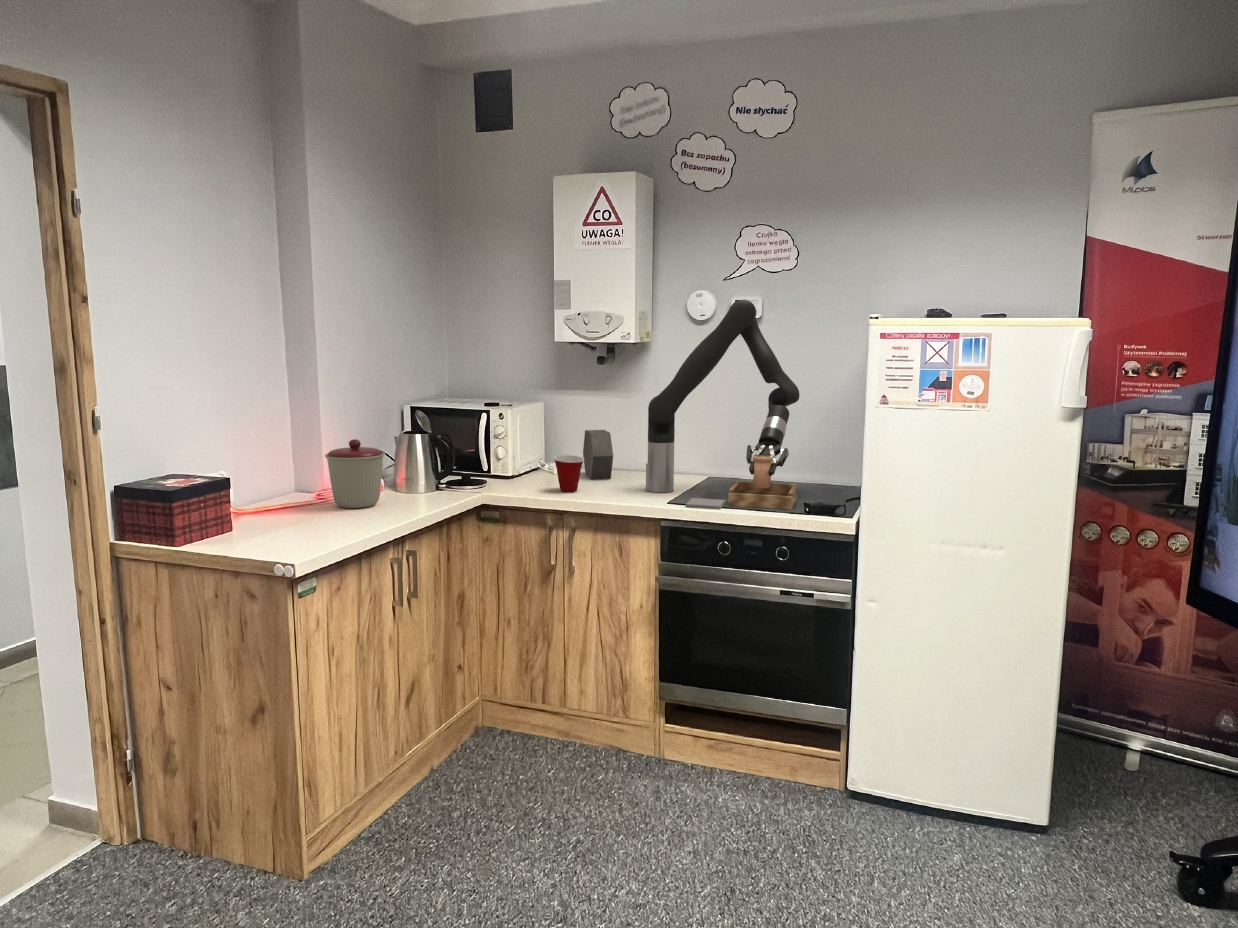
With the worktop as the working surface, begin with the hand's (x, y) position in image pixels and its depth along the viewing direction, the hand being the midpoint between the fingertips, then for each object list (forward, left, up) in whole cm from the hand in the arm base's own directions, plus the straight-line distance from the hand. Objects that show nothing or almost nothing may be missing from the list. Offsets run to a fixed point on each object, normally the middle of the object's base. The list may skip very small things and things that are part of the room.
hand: (760, 473), depth 280 cm
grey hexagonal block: (-66, +37, -10) cm, 77 cm away
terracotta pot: (0, +2, -5) cm, 5 cm away
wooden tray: (+1, +3, -10) cm, 10 cm away
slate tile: (-16, -6, -10) cm, 20 cm away
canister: (-121, -41, -10) cm, 129 cm away
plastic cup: (-66, +4, -10) cm, 67 cm away
